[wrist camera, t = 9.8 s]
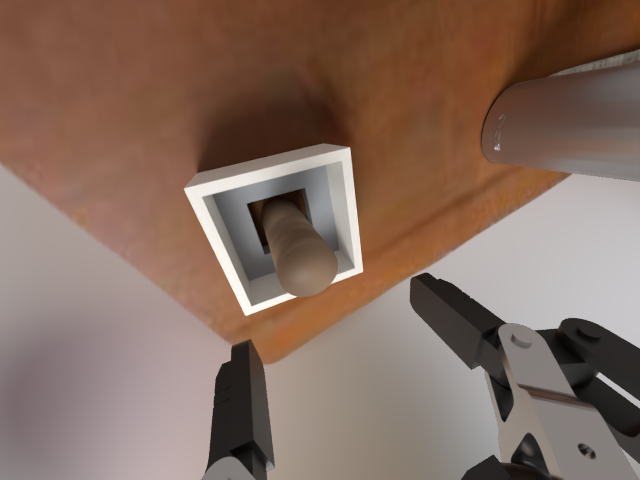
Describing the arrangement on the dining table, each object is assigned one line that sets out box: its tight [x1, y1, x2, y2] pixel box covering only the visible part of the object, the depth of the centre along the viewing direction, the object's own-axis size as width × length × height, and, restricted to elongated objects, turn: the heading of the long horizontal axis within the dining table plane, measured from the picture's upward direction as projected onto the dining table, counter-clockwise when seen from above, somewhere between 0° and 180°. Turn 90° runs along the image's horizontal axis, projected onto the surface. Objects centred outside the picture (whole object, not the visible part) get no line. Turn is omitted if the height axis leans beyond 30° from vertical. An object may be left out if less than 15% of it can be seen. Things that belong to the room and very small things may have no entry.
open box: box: [184, 143, 363, 316], centre depth 21 cm, size 12×12×6 cm
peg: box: [261, 198, 338, 297], centre depth 19 cm, size 4×4×11 cm
